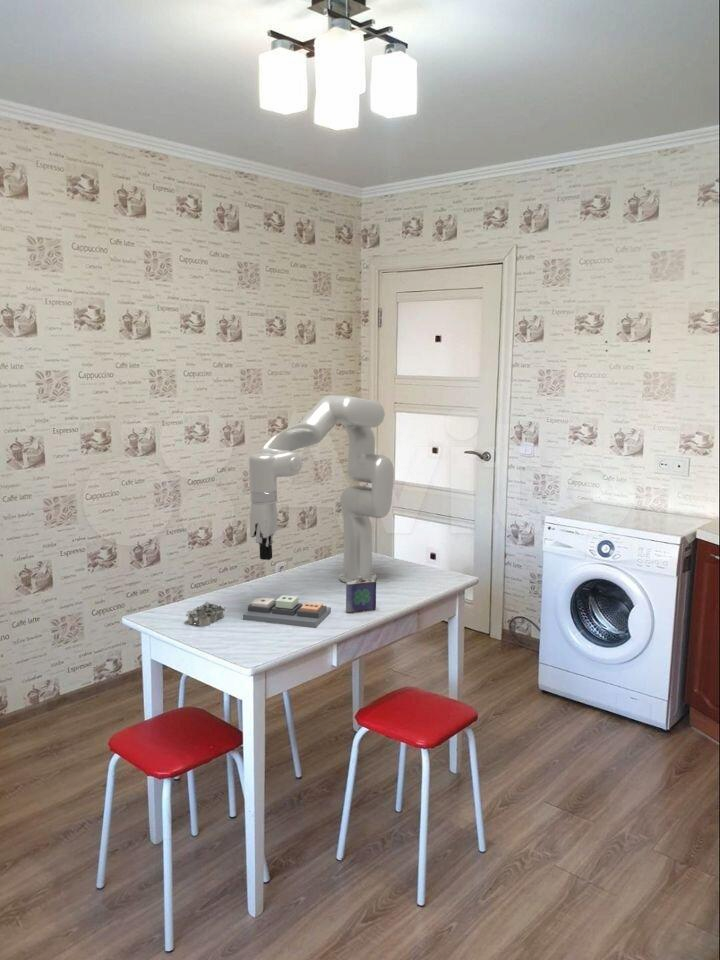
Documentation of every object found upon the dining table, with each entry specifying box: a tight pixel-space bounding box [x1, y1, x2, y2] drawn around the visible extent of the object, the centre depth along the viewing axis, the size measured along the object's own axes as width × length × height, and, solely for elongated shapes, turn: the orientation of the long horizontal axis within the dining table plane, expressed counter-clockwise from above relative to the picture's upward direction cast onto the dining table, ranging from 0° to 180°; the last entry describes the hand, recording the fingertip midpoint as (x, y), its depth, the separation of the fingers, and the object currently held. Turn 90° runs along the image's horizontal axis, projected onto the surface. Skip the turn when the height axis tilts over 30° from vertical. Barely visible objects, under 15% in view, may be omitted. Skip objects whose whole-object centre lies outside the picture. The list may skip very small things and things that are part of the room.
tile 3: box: [300, 602, 324, 613], centre depth 215 cm, size 5×5×2 cm
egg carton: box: [185, 601, 226, 627], centre depth 215 cm, size 11×8×4 cm
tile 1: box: [251, 597, 276, 607], centre depth 220 cm, size 5×5×2 cm
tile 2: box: [275, 595, 299, 609], centre depth 217 cm, size 5×5×2 cm
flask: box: [345, 575, 377, 614], centre depth 222 cm, size 9×3×11 cm, turn 109°
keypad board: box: [242, 600, 332, 629], centre depth 218 cm, size 13×22×3 cm, turn 73°
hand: (266, 558), depth 219 cm, fingers closed
